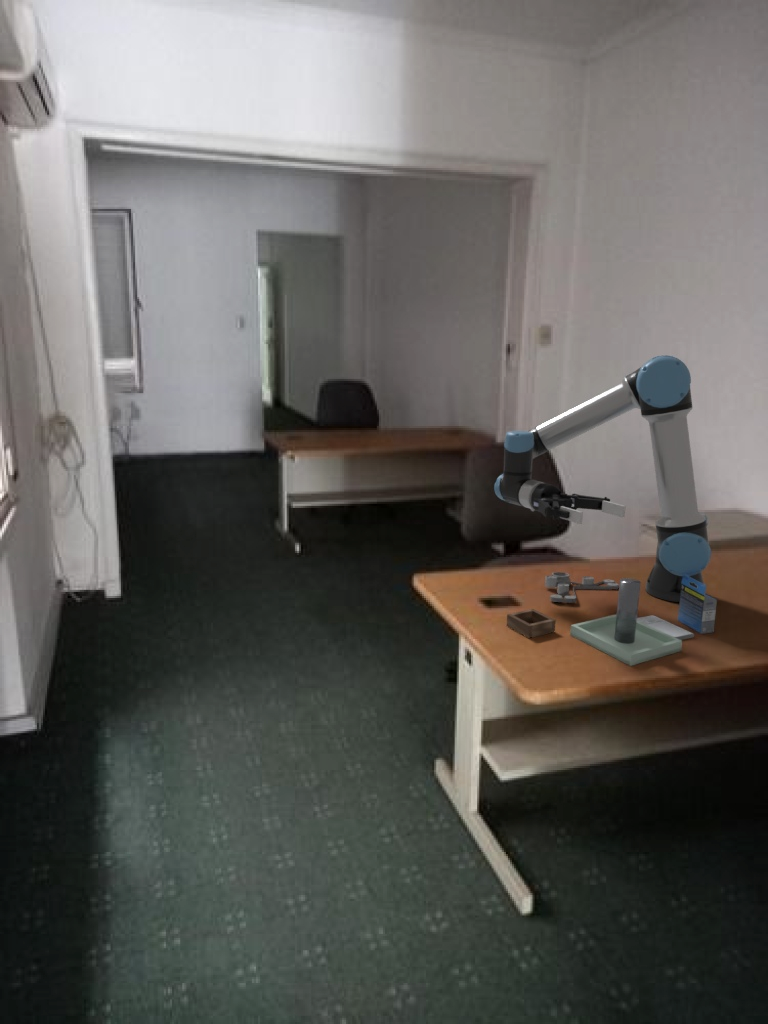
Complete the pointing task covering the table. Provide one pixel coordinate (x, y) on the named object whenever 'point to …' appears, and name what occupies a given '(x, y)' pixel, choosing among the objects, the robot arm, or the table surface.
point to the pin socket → (537, 628)
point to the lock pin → (627, 610)
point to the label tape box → (696, 606)
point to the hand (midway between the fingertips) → (603, 514)
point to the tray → (641, 650)
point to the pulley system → (563, 583)
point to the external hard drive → (665, 627)
